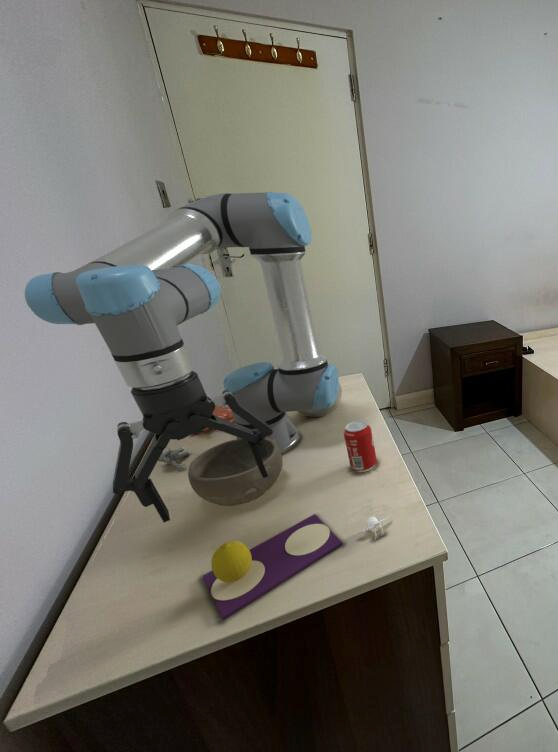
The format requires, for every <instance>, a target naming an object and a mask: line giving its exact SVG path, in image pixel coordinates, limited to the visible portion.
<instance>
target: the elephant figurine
mask: <svg viewBox="0 0 558 752" xmlns="http://www.w3.org/2000/svg"><path fill="white" fill-rule="evenodd" d="M190 453H191V451H190V450H186V451H185V447H184V446H182V447H179V448H177V449H171V448H170V447H168V448H167V450H166V451H163V452H162V454H161V456H160V458H159V459H158V461H157V462H160V463H162V462H163V463H164V464H167V465H169V464H170V465H172V466H174V467H176V469H177V470H180V471H183V470H184V466H183V465H184V464H183V463H181V464H179V463H178V462H176V461H177V460H178V459H180V458H182V457H187V456H189V455H190Z"/></svg>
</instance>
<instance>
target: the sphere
mask: <svg viewBox="0 0 558 752" xmlns="http://www.w3.org/2000/svg"><path fill="white" fill-rule="evenodd" d="M342 389H343V388H342V385H341V383H340V382H339V383H338V392H337V397H336V400H335V402H334V403H333V405H332V406H331V407H329V408H325V409H318V410H315V411H314V410H307V411H297V412H298V413H299V414H301V415H303V416H306V417H311V418H320V417H324V416H326V415H329V414H330V413H331V412H334V410H336V408H337V407H338V405H339V404H340V402H341V400H342V397H343V390H342Z"/></svg>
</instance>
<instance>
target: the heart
mask: <svg viewBox="0 0 558 752" xmlns="http://www.w3.org/2000/svg"><path fill="white" fill-rule="evenodd" d="M213 414H214V415H216V416H218V417H220V418H222V419H225V420H227V421H230V422H233V423H235V424H236V422H235V419H234V416H233V413H232V410H231V409H230V407H229V408H223V407H222V406H219V405H218V406H215V409H214V411H213ZM208 430H212V429H211V428H208V427H206V428H205V429H204V430H202V431H208ZM194 435H195V434H192V436H194Z"/></svg>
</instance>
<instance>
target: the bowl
mask: <svg viewBox="0 0 558 752" xmlns="http://www.w3.org/2000/svg"><path fill="white" fill-rule="evenodd" d="M247 441H248V440H245V439H242V438H240V439H236V438H235V439H232V440H228V441H225V442H221V443H220V444H217V445H214V446H212V447H211V448H209V449H207V450H204V452H202V453H201V454H199V455H198V456H196V457H195V458H194V460H193V461H191V463H190V464H189V466H188V471H187V476H188V481H189V485H190V486H191V489H192V490H193V492H194V493H195V494H196V495H197V496H198V497H200V498H201V499H203V500H204V501H206V502H208V503H211V504H213V505H217V506H220V507H234V506H240V505H243V504H246V503H250V502H252V501H254V500H257V499H258V498H260V497H261V496H263V495H264V494H265V493H266V492H268V491H269V490H270V489H271V488H272V487H273V486H274V485H275V483H276V482H277V481H278V479H279V477H280V476H281V473H282V472H283V471H282V470H283V465H284V461H283V454H281V451H280V449H279V447H278V445H277V444H276V442H275V441H274V440H272V439H270V438H266V437H265V438H264V440H263V441H264V445H265V448H266V450H267V453H268V455H267V457H265V458H262V462H263V464H264V467H265V469H266V472H267V474H268V477H266V478H263V477H262V475H261V473H260V471H259V469H258V466H257V464H256V461H255V459H254V456H253V454H252V451H251V449H250V446H249V444H248V442H247Z"/></svg>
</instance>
